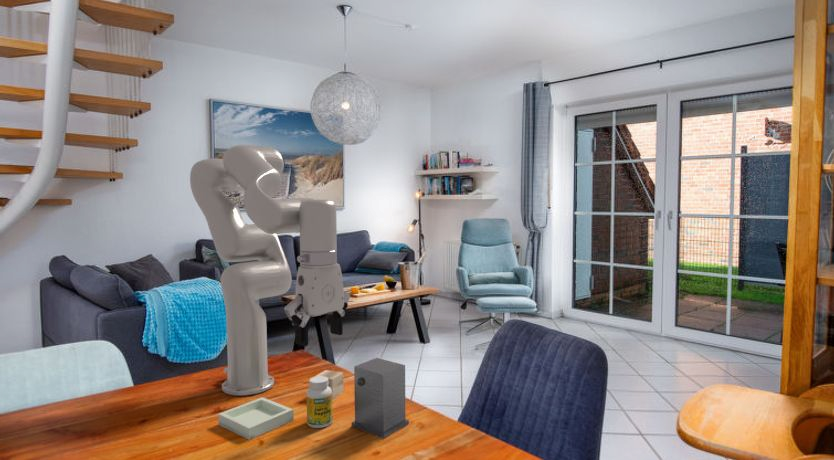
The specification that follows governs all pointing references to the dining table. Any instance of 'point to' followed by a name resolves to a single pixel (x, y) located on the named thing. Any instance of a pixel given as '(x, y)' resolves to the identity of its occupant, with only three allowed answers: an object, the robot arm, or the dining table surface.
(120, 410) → the dining table surface
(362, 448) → the dining table surface
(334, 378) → the beech block
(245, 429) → the tray
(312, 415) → the supplement bottle
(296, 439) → the dining table surface
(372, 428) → the tabletop unit
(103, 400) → the dining table surface
